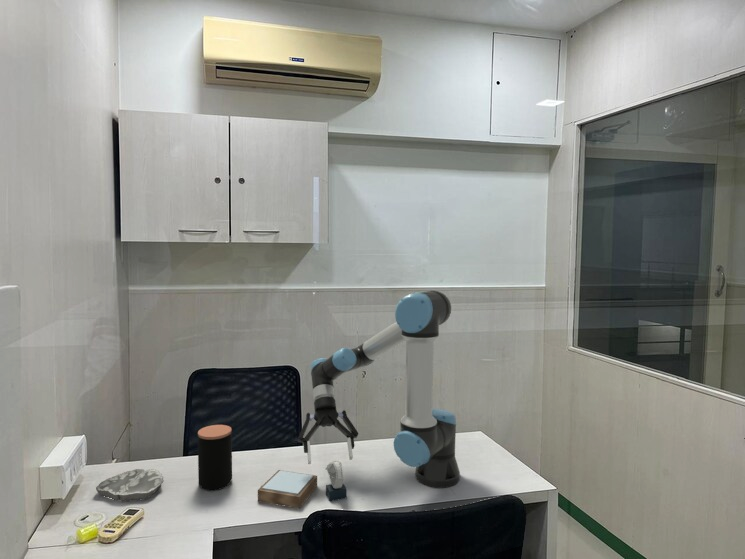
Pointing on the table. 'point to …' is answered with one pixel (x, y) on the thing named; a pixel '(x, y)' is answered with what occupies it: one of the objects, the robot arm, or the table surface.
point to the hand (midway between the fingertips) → (330, 460)
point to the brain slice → (131, 485)
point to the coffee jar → (214, 457)
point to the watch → (335, 482)
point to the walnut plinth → (287, 488)
